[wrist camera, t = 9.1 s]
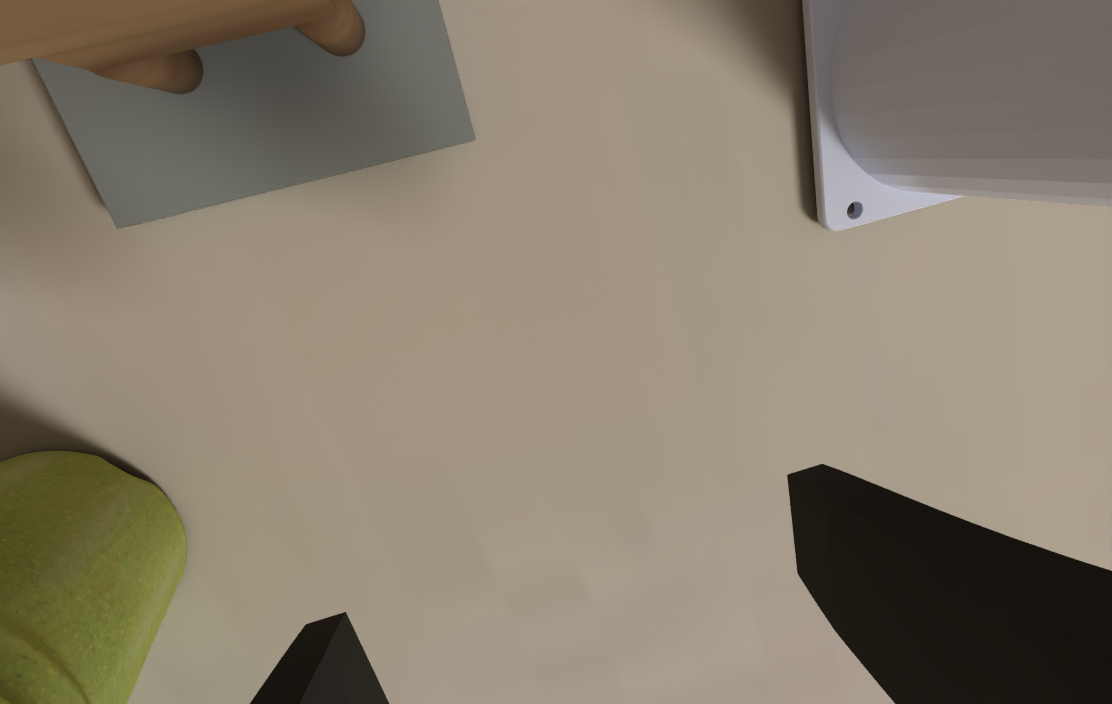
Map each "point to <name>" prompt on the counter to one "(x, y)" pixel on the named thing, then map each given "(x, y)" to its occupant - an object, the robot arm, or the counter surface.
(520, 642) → the counter surface
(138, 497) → the plant pot
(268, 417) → the counter surface
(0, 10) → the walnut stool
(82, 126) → the slate mat
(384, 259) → the counter surface
